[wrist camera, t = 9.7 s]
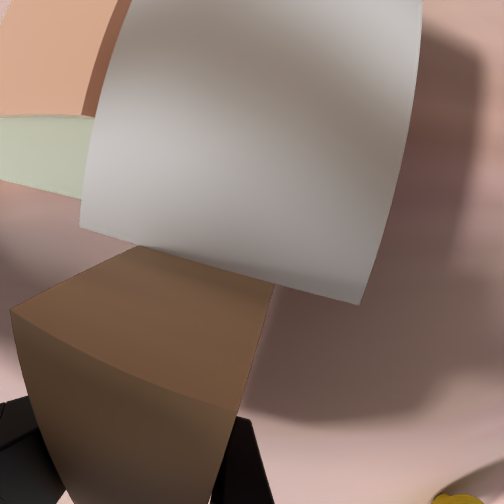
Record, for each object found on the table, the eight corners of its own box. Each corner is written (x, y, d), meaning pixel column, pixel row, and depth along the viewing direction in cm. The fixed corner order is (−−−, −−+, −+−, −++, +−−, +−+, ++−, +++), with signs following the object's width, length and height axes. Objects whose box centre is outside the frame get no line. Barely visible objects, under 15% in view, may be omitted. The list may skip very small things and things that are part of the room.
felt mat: (115, 205, 10) (109, 206, 10) (-30, 170, 12) (-35, 171, 11) (209, -86, 7) (207, -91, 6) (35, -37, 8) (32, -39, 7)
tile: (-3, 118, 10) (110, 121, 9) (-27, 117, 8) (80, 115, 8) (44, -18, 8) (171, -52, 7) (25, -27, 6) (156, -73, 6)
